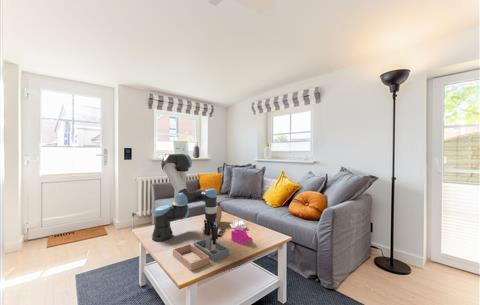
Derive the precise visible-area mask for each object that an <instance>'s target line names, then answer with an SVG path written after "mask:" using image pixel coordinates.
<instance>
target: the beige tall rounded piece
mask: <svg viewBox="0 0 480 305" xmlns="http://www.w3.org/2000/svg"><path fill="white" fill-rule="evenodd" d="M222 210H223V209H222V208H221V206H220V205H219V204H218V203H217V212H216V213H217V218H216V219H215V222H216V224H218V225H220V224H221V221H222V217H223V216H222V214H223V213H222Z"/></svg>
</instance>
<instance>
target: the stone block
mask: <svg viewBox="0 0 480 305" xmlns="http://www.w3.org/2000/svg"><path fill="white" fill-rule="evenodd" d="M205 239H206V245H205V249H206V250H207V251H212V250H211V239H212V234H211V233H210V235H207V236H206V235H205ZM215 249H216V244H215ZM215 249H214V250H215Z"/></svg>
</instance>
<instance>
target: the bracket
mask: <svg viewBox="0 0 480 305" xmlns="http://www.w3.org/2000/svg"><path fill="white" fill-rule="evenodd" d="M230 232H231V233H230V234H231V242H233V243H236V244H238V245H241V246H244V244H246V243H248V242H250V241H251V240H253V238H252V237H251V236H249V235H248V232H247V231H246V230H245V229H240V228H238V229H235V230H233V229H232V230H230Z"/></svg>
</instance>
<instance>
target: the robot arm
mask: <svg viewBox="0 0 480 305" xmlns="http://www.w3.org/2000/svg"><path fill="white" fill-rule="evenodd" d="M192 165H193V162H192V158H191V156H190V155H189V154H187V153H169V154H167V155H165V156H164V157H163V159H162V160H161V170H162V172H163V173H165V174H166V176H167V178H168V180H169V181H170V184H171V186H172V187H173V189H174V196H173V202H172V203H171V205H169V204H165V205H160V206H158V207H156V208H155V209H154V218H153V219H154V227H153V232H152V234H151V239H152V240H153V241H166V240H168V239H171V238H172V237H173V236H174V234H173V230H172V226H171V222H174V221H175V222H177V221H181V220H183V219H187V218H188V216H189V214H190V206H189V204H195V203H201V202H202V203H203V202H204V208H205V209H204V211H205V213H204V214H205V215H204V217H205V219H204V220H203V223H204V227H203V228H204V230H203V231H204V232H203V234H204V235H205V237H206V236H207V235H210V234H212V239H211V250H210V251H213V250H215V244H216V242H217V240H218V239H219V224H216V222H215V219H216V218H217V213H216V212H217V204H218V203H217V202H218V201H217V199H218V198H217V197H218V195H217V189H215V188H207V189H205V190H204V189H197V190H195V191H193V190H192V191H189V188H188V187H187V173H188V172H189V170H190V168H192Z"/></svg>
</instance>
